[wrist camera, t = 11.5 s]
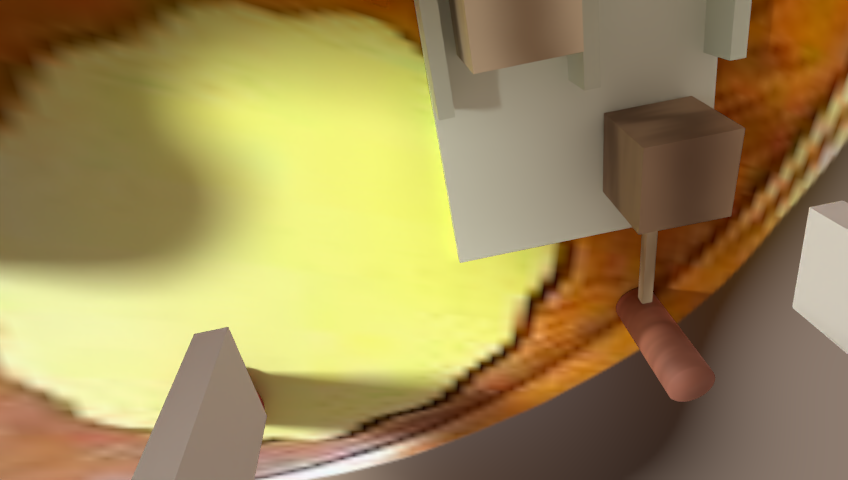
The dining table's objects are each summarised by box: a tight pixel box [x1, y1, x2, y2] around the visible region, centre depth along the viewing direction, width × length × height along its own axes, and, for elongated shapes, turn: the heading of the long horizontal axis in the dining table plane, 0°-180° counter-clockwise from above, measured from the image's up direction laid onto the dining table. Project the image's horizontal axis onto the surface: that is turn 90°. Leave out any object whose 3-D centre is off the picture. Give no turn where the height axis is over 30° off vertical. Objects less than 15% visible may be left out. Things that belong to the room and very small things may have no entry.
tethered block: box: [603, 96, 745, 402], centre depth 39 cm, size 6×19×9 cm, turn 10°
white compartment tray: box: [414, 0, 752, 263], centre depth 35 cm, size 19×24×4 cm
